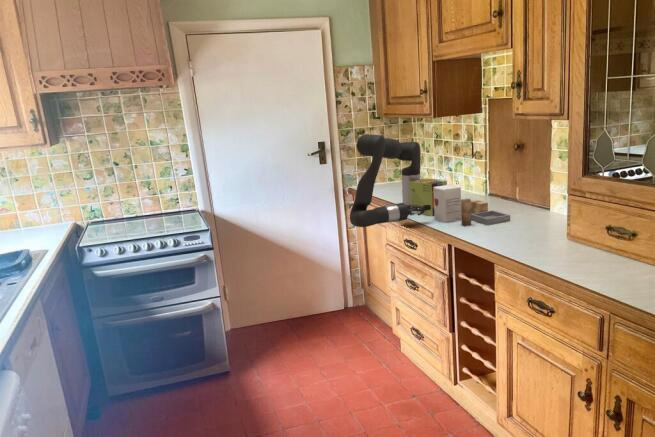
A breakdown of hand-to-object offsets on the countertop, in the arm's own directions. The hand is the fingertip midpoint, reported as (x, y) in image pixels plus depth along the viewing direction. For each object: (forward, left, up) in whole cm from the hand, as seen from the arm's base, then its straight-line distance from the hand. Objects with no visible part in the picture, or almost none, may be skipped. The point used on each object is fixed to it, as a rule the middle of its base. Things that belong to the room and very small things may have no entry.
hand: (430, 207), depth 230 cm
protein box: (-18, +10, -7) cm, 22 cm away
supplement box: (0, +9, -7) cm, 11 cm away
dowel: (+13, +10, -7) cm, 18 cm away
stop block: (+1, +24, -7) cm, 25 cm away
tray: (+13, +22, -7) cm, 26 cm away
